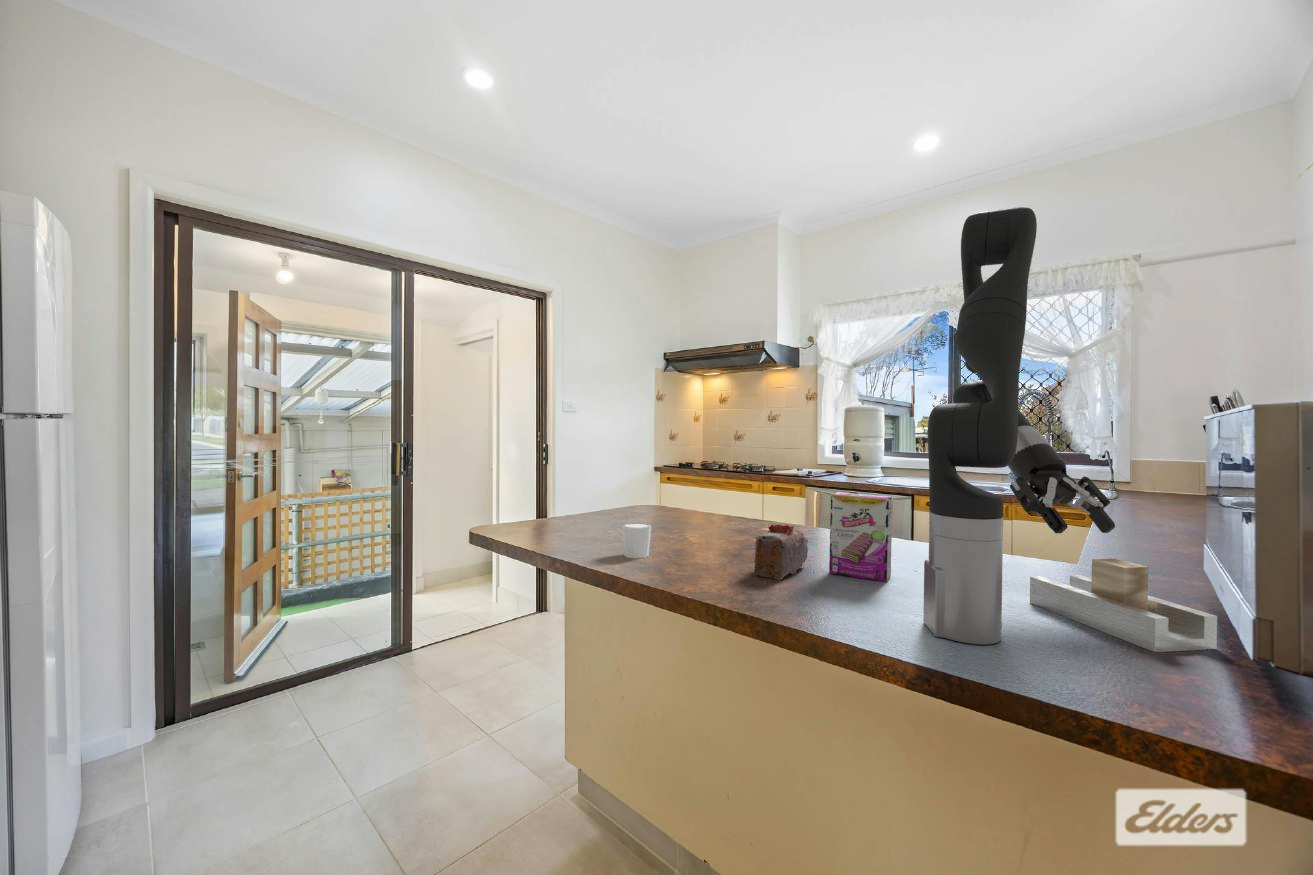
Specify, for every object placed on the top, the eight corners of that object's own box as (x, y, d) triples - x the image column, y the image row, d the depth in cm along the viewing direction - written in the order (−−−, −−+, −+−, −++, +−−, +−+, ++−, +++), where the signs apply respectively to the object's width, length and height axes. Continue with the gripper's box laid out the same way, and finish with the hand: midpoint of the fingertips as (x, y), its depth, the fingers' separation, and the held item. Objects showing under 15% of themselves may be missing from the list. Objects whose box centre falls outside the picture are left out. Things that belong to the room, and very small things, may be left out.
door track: (1154, 652, 70) (1155, 618, 69) (1029, 602, 89) (1030, 576, 89) (1216, 648, 71) (1217, 615, 71) (1079, 600, 91) (1080, 575, 90)
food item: (774, 561, 116) (774, 517, 116) (810, 567, 112) (810, 521, 112) (750, 576, 105) (751, 527, 105) (789, 582, 101) (790, 531, 100)
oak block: (1123, 621, 76) (1124, 567, 76) (1090, 610, 81) (1092, 559, 81) (1147, 620, 77) (1148, 566, 77) (1113, 609, 82) (1114, 558, 82)
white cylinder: (618, 558, 118) (618, 527, 118) (625, 551, 125) (625, 522, 125) (648, 559, 117) (648, 528, 117) (653, 552, 124) (653, 523, 124)
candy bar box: (828, 574, 106) (829, 493, 106) (834, 569, 110) (835, 491, 110) (887, 583, 100) (889, 498, 100) (891, 577, 104) (893, 495, 104)
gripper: (1005, 441, 92) (1061, 517, 81) (1077, 442, 94) (1142, 516, 83) (982, 469, 97) (1032, 544, 86) (1051, 469, 99) (1109, 542, 88)
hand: (1086, 530), depth 84 cm, fingers open, 8 cm apart
